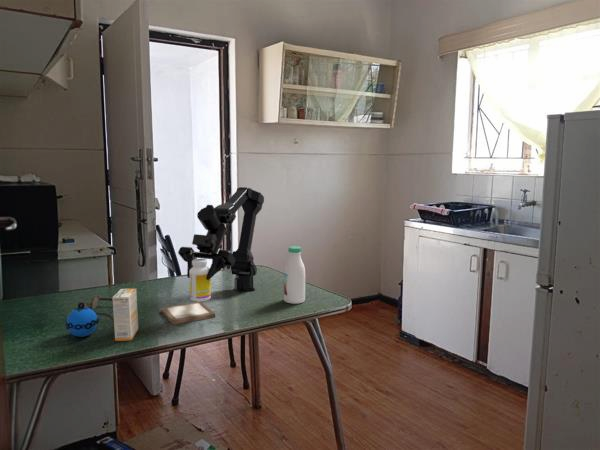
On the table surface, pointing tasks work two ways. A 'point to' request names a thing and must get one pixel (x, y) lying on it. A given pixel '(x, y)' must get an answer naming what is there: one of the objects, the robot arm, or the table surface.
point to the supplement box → (125, 314)
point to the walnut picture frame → (187, 313)
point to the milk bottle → (294, 277)
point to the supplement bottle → (199, 281)
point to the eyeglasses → (95, 303)
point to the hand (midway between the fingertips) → (197, 278)
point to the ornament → (82, 321)
